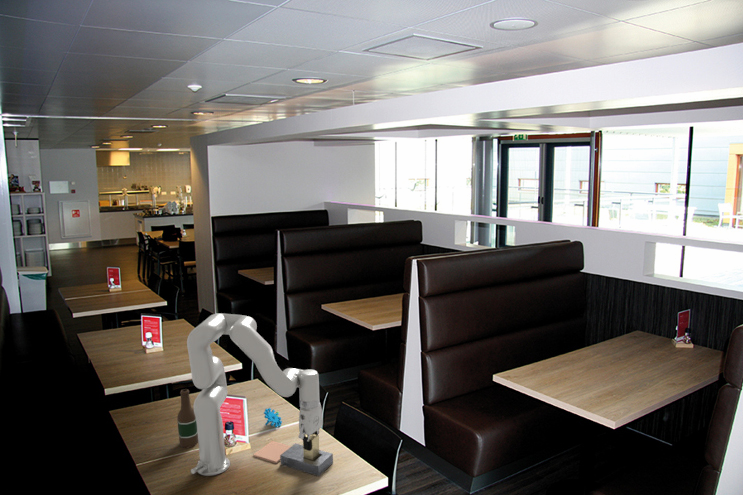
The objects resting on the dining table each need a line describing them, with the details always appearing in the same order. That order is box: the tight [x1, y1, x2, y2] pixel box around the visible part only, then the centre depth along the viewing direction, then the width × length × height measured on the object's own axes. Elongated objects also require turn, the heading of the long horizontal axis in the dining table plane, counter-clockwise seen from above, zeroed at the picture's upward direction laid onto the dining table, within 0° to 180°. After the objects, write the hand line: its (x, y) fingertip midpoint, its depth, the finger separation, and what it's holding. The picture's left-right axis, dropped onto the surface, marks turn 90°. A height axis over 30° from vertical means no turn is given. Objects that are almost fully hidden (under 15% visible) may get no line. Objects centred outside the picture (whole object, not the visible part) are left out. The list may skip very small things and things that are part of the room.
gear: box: [263, 407, 283, 428], centre depth 244 cm, size 11×6×10 cm
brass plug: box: [303, 434, 320, 461], centre depth 209 cm, size 4×4×10 cm
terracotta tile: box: [252, 440, 293, 464], centre depth 220 cm, size 12×12×1 cm
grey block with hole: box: [280, 443, 334, 477], centre depth 211 cm, size 10×18×4 cm, turn 61°
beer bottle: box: [177, 388, 199, 448], centre depth 228 cm, size 8×8×24 cm
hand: (311, 446), depth 209 cm, fingers closed on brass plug, 4 cm apart
